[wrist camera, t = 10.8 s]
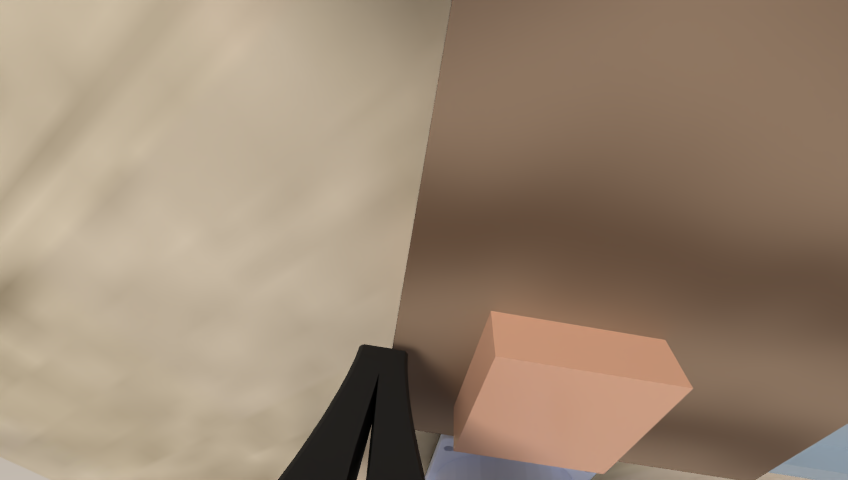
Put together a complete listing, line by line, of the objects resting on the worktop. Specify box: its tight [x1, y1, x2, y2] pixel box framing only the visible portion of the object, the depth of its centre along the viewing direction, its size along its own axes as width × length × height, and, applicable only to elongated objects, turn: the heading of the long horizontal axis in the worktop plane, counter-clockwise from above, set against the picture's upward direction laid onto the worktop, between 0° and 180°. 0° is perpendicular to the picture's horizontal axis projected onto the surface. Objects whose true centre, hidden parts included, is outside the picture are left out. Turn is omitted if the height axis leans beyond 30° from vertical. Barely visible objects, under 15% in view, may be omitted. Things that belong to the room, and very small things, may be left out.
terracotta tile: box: [453, 311, 693, 474], centre depth 11 cm, size 5×5×2 cm
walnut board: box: [392, 0, 848, 480], centre depth 10 cm, size 18×15×2 cm
